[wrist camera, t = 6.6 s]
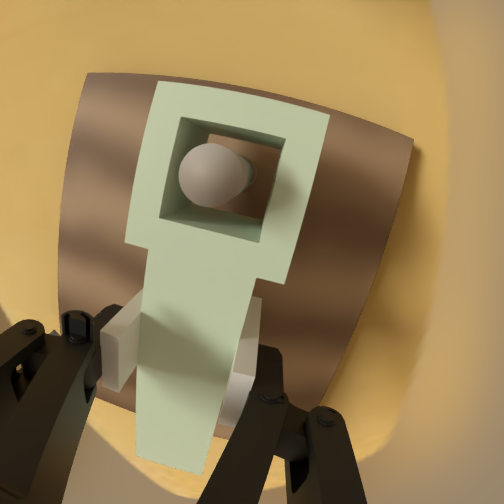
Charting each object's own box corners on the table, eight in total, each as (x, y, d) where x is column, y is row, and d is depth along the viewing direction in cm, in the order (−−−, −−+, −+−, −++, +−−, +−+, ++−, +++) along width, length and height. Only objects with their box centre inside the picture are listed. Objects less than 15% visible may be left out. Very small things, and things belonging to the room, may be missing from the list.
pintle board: (94, 76, 17) (-5, 37, 7) (407, 140, 17) (512, 126, 7) (71, 377, 23) (17, 444, 14) (292, 442, 24) (295, 534, 14)
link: (192, 107, 14) (158, 80, 9) (310, 133, 14) (329, 115, 9) (146, 400, 19) (121, 449, 14) (227, 424, 19) (217, 479, 14)
